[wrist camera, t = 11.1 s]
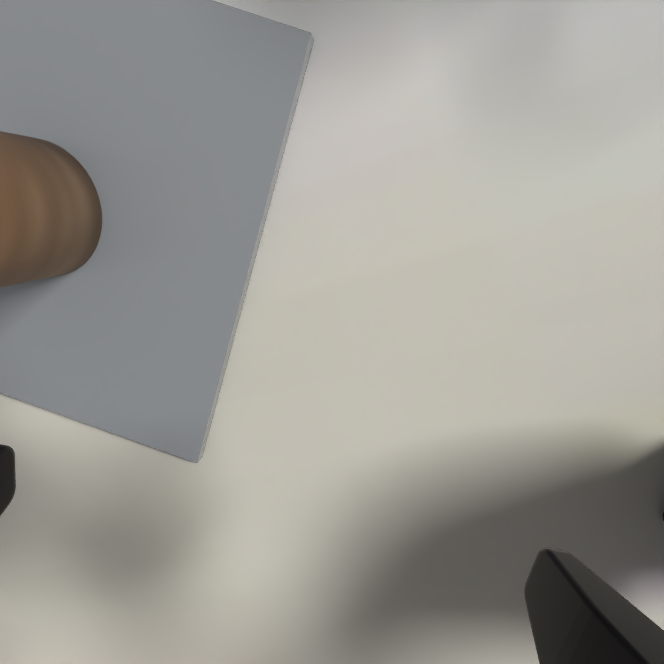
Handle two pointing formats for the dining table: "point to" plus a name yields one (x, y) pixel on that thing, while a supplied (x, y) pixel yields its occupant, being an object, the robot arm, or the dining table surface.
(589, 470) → the dining table surface
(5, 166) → the pepper mill
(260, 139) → the slate tile
